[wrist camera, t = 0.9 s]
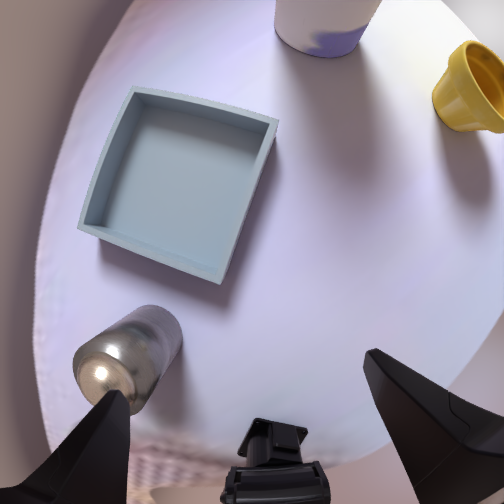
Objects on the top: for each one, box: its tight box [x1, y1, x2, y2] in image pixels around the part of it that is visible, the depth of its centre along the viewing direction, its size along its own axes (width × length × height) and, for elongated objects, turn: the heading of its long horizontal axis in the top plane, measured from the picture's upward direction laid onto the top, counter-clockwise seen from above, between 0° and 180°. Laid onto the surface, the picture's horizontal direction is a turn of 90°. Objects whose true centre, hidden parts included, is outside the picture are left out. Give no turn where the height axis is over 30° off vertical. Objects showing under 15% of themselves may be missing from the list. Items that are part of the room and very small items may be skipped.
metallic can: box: [73, 305, 182, 416], centre depth 20 cm, size 6×6×12 cm
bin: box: [77, 86, 279, 285], centre depth 23 cm, size 14×14×4 cm
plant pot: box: [432, 40, 504, 134], centre depth 19 cm, size 10×10×10 cm
